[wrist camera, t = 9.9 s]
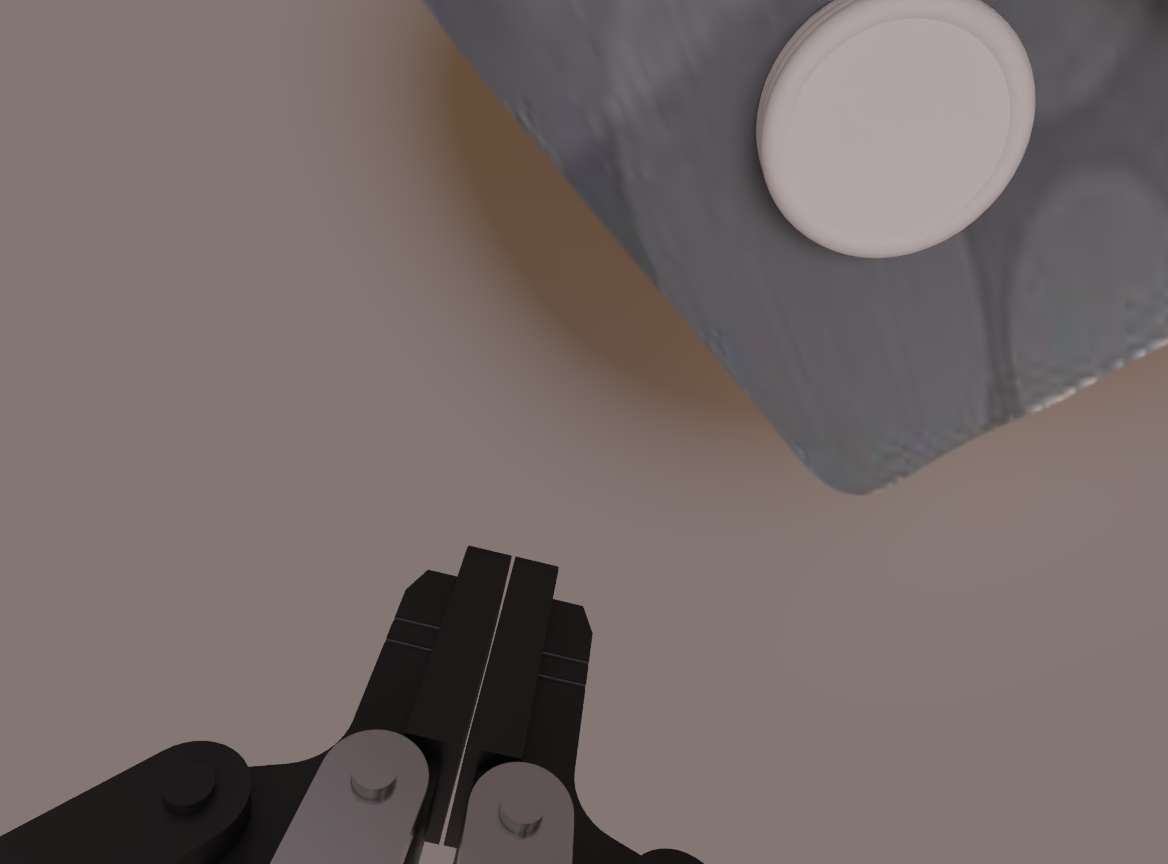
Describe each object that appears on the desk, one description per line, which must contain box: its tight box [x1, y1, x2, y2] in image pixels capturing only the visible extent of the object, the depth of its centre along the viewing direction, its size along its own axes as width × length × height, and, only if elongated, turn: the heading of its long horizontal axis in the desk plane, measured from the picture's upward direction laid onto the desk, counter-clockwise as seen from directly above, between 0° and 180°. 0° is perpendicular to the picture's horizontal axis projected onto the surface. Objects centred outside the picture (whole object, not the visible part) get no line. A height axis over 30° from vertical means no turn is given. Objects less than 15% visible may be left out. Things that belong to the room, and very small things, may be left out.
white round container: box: [756, 0, 1035, 258], centre depth 33 cm, size 10×10×4 cm
